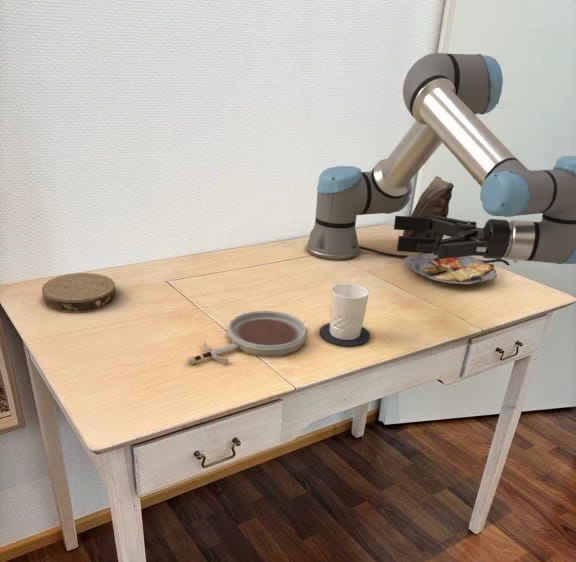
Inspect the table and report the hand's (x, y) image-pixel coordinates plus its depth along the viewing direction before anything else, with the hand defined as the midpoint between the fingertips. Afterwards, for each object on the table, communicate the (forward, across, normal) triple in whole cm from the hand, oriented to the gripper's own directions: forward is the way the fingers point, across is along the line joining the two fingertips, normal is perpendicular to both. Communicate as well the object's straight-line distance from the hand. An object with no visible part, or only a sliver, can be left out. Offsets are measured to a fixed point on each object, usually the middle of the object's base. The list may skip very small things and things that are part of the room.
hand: (396, 232), depth 115 cm
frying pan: (+28, -11, -22) cm, 38 cm away
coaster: (+8, -2, -23) cm, 24 cm away
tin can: (+70, +4, -22) cm, 73 cm away
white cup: (+8, -2, -22) cm, 24 cm away
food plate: (-20, +42, -23) cm, 52 cm away
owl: (-13, +64, -23) cm, 69 cm away
